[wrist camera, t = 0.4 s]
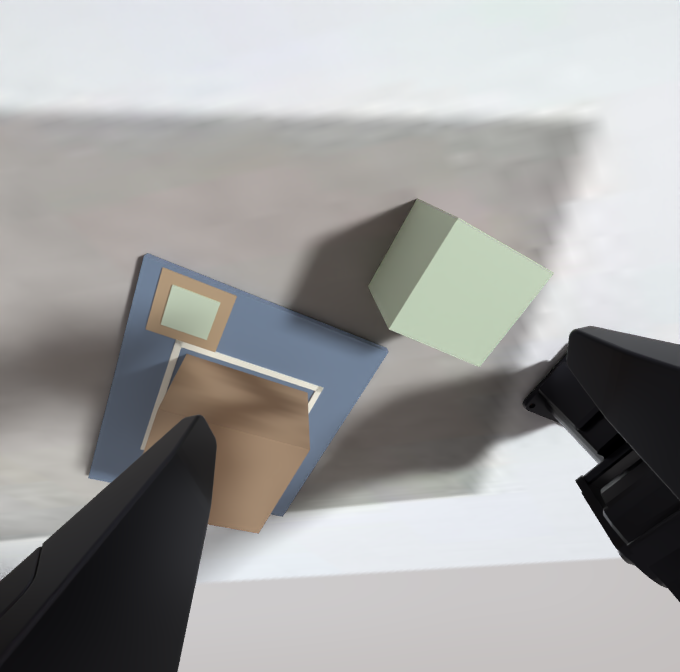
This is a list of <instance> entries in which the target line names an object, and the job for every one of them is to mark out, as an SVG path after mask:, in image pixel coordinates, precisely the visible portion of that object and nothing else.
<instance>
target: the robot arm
mask: <svg viewBox="0 0 680 672" xmlns="http://www.w3.org/2000/svg"><path fill="white" fill-rule="evenodd" d="M523 406H524V407H525V408H526V409H527V410H528V411H530V412H533V413H536V414H538V415H541V416H543V417H546V418H548V419H551V420H554V421H556V422H559V423H561V425H562V426H563V427H564V428H565V429H566V430H567V431H568V432H569V433H570V434H571V435H572V436H573V437H574V438H575V439H576V441H577V442H578V443H579V444H580V445H581V446H582V447H583V448H584V449H585V450H586V451H587V452H588V453H589V454H590V455H591V457H592V458H593V459H594V460H595V461H596V462H597V463H598V465H596V466H595V467H594V468H593V469H591V470H590V471H589V472H588V473H587V474H585V475H584V476H583V475H581V476H580V477H579V478H578V479H576V480H575V481H576V483H577V484H578V486H579V488H580V489H581V491H582V495H583V496H584V498H585V499H586V501H587V503H588V504H589V506H590V508H591V509H592V511H593V512H594V514H595V516H596V517H597V519H598V520H599V522H600V524H601V525H602V527H603V528H604V530H605V532H606V533H607V535H608V537H609V538H610V540H611V541H612V543H613V545H614V546H615V547H616V549H617V550H618V553H619V555H620V556H621V557H622V558H623V559H624V561H626V562H627V563H629V564H632V565H635V566H636V567H637V568H639V569H640V570H641V571H642V572H643V573H644V574H645V575H647V576H648V577H649V578H650V579H652V580H653V581H654V582H656V583H658V584H659V585H661V586H663V587H666V588H668V589H669V590H670V591H671V592H672V593H673V595H674V596H675V597H676V598H677V599H678V601H679V602H680V345H679V344H674V343H670V342H665V341H660V340H656V339H651V338H646V337H641V336H637V335H632V334H627V333H622V332H618V331H613V330H608V329H604V328H599V327H594V326H587V327H583V328H578V329H574V330H573V331H571V333H570V335H569V342H568V350H567V354H566V355H565V356H564V358H563V359H562V360H561V361H560V362H559V363H558V364H557V365H556V366H555V367H554V369H553V370H552V371H551V372H550V373H549V374H548V375H547V376H546V377H545V379H544V380H543V381H542V382H541V383H540V384H539V385H538V386H537V387H536V388H535V390H534V391H533V392H532V393H531V394H530V395H529V396H528V397H527V398H526V399H525V401H524V402H523ZM216 451H217V443H216V439H215V436H214V434H213V433H212V431H211V429H210V427H209V425H208V423H207V421H206V420H205V418H204V417H203V416H202V415H199V414H198V415H193V416H189V417H185V418H183V419H182V420H181V421H179V422H178V423H177V424H176V425H175V426H174V427H173V428H172V429H171V430H169V431H168V432H167V433H166V434H165V435H164V436H163V437H162V438H160V439H159V440H158V441H157V442H156V443H155V444H154V445H153V446H152V447H150V448H149V449H148V450H147V451H146V452H145V453H144V454H143V455H141V456H140V457H139V458H138V459H137V460H136V461H135V462H134V463H132V464H131V465H130V466H129V467H128V468H127V469H126V470H125V471H124V472H122V473H121V474H120V475H119V476H118V477H117V478H116V479H115V480H113V481H112V482H111V483H110V484H109V485H108V486H107V487H106V488H104V489H103V490H102V491H101V492H100V493H99V494H98V495H97V496H96V497H94V498H93V499H92V500H91V501H90V502H89V503H88V504H87V505H85V506H84V507H83V508H82V509H81V510H80V511H79V512H78V513H76V514H75V515H74V516H73V517H72V518H71V519H70V520H69V521H68V522H66V523H65V524H64V525H63V526H62V527H61V528H60V529H59V530H57V531H56V532H55V533H54V534H53V535H52V536H51V537H50V538H48V539H47V540H46V541H45V542H44V543H43V545H42V547H39V548H37V549H36V550H35V551H34V552H33V553H32V554H30V555H29V556H28V557H27V558H26V559H25V560H24V561H23V562H22V563H20V564H19V565H18V566H17V567H16V568H15V569H14V570H12V571H11V572H10V573H9V574H8V575H7V576H6V577H4V578H3V579H2V580H1V581H0V672H177V671H178V666H179V662H180V657H181V652H182V647H183V642H184V637H185V632H186V628H187V622H188V617H189V613H190V608H191V603H192V598H193V593H194V588H195V584H196V579H197V574H198V569H199V564H200V559H201V554H202V549H203V544H204V540H205V535H206V530H207V525H208V520H209V515H210V509H211V503H212V494H213V483H214V473H215V462H216Z"/></svg>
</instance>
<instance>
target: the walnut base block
mask: <svg viewBox="0 0 680 672" xmlns="http://www.w3.org/2000/svg"><path fill="white" fill-rule="evenodd" d="M198 414H199V415H202V416H203V417H204V418H205V420H206V421H207V423H208V425H209V427H210V429H211V431H212V433H213V434H214V436H215V439H216V443H217V451H216V462H215V473H214V483H213V494H212V503H211V509H210V515H209V520H208V524H209V525H214V526H220V527H226V528H231V529H237V530H242V531H248V532H254V533H259V532H260V530H261V529H262V527H263V525H264V524H265V522H266V520H267V519H268V517H269V516H270V514H271V512H272V511H273V509H274V507H275V506H276V504H277V503H278V501H279V499H280V498H281V496H282V495H283V493H284V491H285V490H286V488H287V486H288V485H289V483H290V482H291V480H292V478H293V477H294V475H295V473H296V472H297V470H298V469H299V467H300V465H301V464H302V462H303V460H304V459H305V457H306V456H307V454H308V452H309V451H310V437H309V413H308V393H307V392H304V391H301V390H298V389H295V388H291V387H288V386H285V385H282V384H279V383H276V382H273V381H270V380H267V379H264V378H261V377H257V376H254V375H251V374H248V373H245V372H242V371H239V370H236V369H233V368H230V367H226V366H223V365H220V364H217V363H214V362H211V361H208V360H205V359H202V358H199V357H195V356H192V355H189V354H186V356H185V358H184V360H183V362H182V364H181V366H180V368H179V370H178V371H177V373H176V375H175V377H174V379H173V381H172V383H171V385H170V387H169V389H168V391H167V393H166V394H165V396H164V398H163V400H162V402H161V404H160V406H159V408H158V410H157V413H156V416H155V419H154V422H153V425H152V428H151V431H150V434H149V437H148V440H147V443H146V446H145V449H144V452H143V454H144V453H145V452H146V451H147V450H148V449H149V448H150V447H152V446H153V445H154V444H155V443H156V442H157V441H158V440H159V439H160V438H162V437H163V436H164V435H165V434H166V433H167V432H168V431H169V430H171V429H172V428H173V427H174V426H175V425H176V424H177V423H178V422H179V421H181V420H182V419H183V418H185V417H189V416H193V415H198Z"/></svg>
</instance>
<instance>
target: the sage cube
mask: <svg viewBox="0 0 680 672" xmlns="http://www.w3.org/2000/svg"><path fill="white" fill-rule="evenodd" d="M553 274H554V273H553V272H551V271H550V270H548V269H546V268H544V267H543V266H541V265H539V264H537V263H536V262H534V261H532V260H531V259H529V258H527V257H525V256H524V255H522V254H520V253H518V252H517V251H515V250H513V249H511V248H510V247H508V246H506V245H504V244H503V243H501V242H499V241H498V240H496V239H494V238H492V237H491V236H489V235H487V234H485V233H484V232H482V231H480V230H478V229H477V228H475V227H473V226H471V225H470V224H468V223H466V222H465V221H463V220H461V219H459V218H457V217H455V216H453V215H451V214H449V213H447V212H445V211H443V210H441V209H438V208H436V207H434V206H432V205H430V204H428V203H426V202H424V201H422V200H419V199H417V200H416V201H415V203H414V205H413V207H412V209H411V210H410V212H409V214H408V216H407V217H406V219H405V221H404V223H403V225H402V226H401V228H400V230H399V232H398V234H397V235H396V237H395V239H394V241H393V243H392V244H391V246H390V248H389V250H388V251H387V253H386V255H385V257H384V259H383V260H382V262H381V264H380V266H379V268H378V269H377V271H376V273H375V275H374V276H373V278H372V280H371V282H370V284H369V285H368V288H369V290H370V292H371V294H372V296H373V298H374V300H375V302H376V304H377V306H378V308H379V310H380V312H381V314H382V317H383V319H384V321H385V323H386V325H387V327H388V329H389V330H392V331H394V332H396V333H399V334H401V335H404V336H406V337H408V338H411V339H413V340H416V341H418V342H421V343H423V344H425V345H428V346H430V347H433V348H435V349H437V350H440V351H442V352H445V353H447V354H449V355H452V356H454V357H457V358H459V359H461V360H464V361H466V362H469V363H471V364H473V365H476V366H478V367H480V366H481V365H482V363H483V362H484V361H485V359H486V358H487V357H488V356H489V354H490V353H491V352H492V351H493V349H494V348H495V347H496V346H497V344H498V343H499V342H500V341H501V339H502V338H503V337H504V336H505V334H506V333H507V332H508V331H509V329H510V328H511V327H512V326H513V324H514V323H515V322H516V321H517V319H518V318H519V317H520V315H521V314H522V313H523V312H524V310H525V309H526V308H527V307H528V305H529V304H530V303H531V302H532V300H533V299H534V298H535V297H536V295H537V294H538V293H539V292H540V290H541V289H542V288H543V287H544V285H545V284H546V283H547V282H548V280H549V279H550V278H551V277H552V275H553Z"/></svg>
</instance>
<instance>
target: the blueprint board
mask: <svg viewBox="0 0 680 672" xmlns="http://www.w3.org/2000/svg"><path fill="white" fill-rule="evenodd" d="M387 353H388V350H387V348H385V347H383V346H380V345H378V344H375V343H373V342H370V341H368V340H365V339H363V338H360V337H358V336H355V335H353V334H350V333H348V332H345V331H343V330H340V329H338V328H335V327H332V326H330V325H327V324H325V323H322V322H320V321H317V320H315V319H312V318H310V317H307V316H305V315H302V314H300V313H297V312H295V311H292V310H290V309H287V308H285V307H282V306H279V305H277V304H274V303H272V302H269V301H267V300H264V299H262V298H259V297H257V296H254V295H252V294H249V293H247V292H244V291H242V290H239V289H237V288H234V287H232V286H229V285H226V284H224V283H221V282H219V281H216V280H214V279H211V278H209V277H206V276H204V275H201V274H199V273H196V272H194V271H191V270H189V269H186V268H184V267H181V266H179V265H176V264H173V263H171V262H168V261H166V260H163V259H161V258H158V257H156V256H153V255H151V254H148V253H147V254H146V255H145V256H144V258H143V262H142V266H141V270H140V274H139V278H138V282H137V286H136V290H135V294H134V298H133V302H132V306H131V310H130V314H129V318H128V322H127V326H126V330H125V334H124V338H123V342H122V346H121V350H120V354H119V358H118V362H117V366H116V370H115V374H114V378H113V382H112V386H111V390H110V394H109V398H108V402H107V406H106V410H105V414H104V418H103V422H102V426H101V430H100V434H99V438H98V442H97V446H96V450H95V454H94V458H93V462H92V466H91V470H90V474H89V478H90V479H95V480H100V481H106V482H112V481H113V480H115V479H116V478H117V477H118V476H119V475H120V474H121V473H122V472H124V471H125V470H126V469H127V468H128V467H129V466H130V465H131V464H132V463H134V462H135V461H136V460H137V459H138V458H139V457H140V456H141V455H143V452H144V449H145V446H146V443H147V440H148V437H149V434H150V431H151V428H152V425H153V422H154V419H155V416H156V413H157V410H158V408H159V406H160V404H161V402H162V400H163V398H164V396H165V394H166V393H167V391H168V389H169V387H170V385H171V383H172V381H173V379H174V377H175V375H176V373H177V371H178V370H179V368H180V366H181V364H182V362H183V360H184V358H185V356H186V354H189V355H192V356H195V357H199V358H202V359H205V360H208V361H211V362H214V363H217V364H220V365H223V366H226V367H230V368H233V369H236V370H239V371H242V372H245V373H248V374H251V375H254V376H257V377H261V378H264V379H267V380H270V381H273V382H276V383H279V384H282V385H285V386H288V387H291V388H295V389H298V390H301V391H304V392H307V393H308V413H309V437H310V451H309V452H308V454H307V456H306V457H305V459H304V460H303V462H302V464H301V465H300V467H299V469H298V470H297V472H296V473H295V475H294V477H293V478H292V480H291V482H290V483H289V485H288V486H287V488H286V490H285V491H284V493H283V495H282V496H281V498H280V499H279V501H278V503H277V504H276V506H275V507H274V509H273V511H272V512H271V514H272V515H277V516H282V517H283V515H284V514H285V512H286V511H287V509H288V508H289V506H290V504H291V503H292V501H293V500H294V498H295V497H296V495H297V493H298V492H299V490H300V489H301V487H302V486H303V484H304V483H305V481H306V479H307V478H308V476H309V475H310V473H311V472H312V470H313V469H314V467H315V465H316V464H317V462H318V461H319V459H320V458H321V456H322V455H323V453H324V451H325V450H326V448H327V447H328V445H329V444H330V442H331V441H332V439H333V437H334V436H335V434H336V433H337V431H338V430H339V428H340V427H341V425H342V423H343V422H344V420H345V419H346V417H347V416H348V414H349V413H350V411H351V409H352V408H353V406H354V405H355V403H356V402H357V400H358V399H359V397H360V395H361V394H362V392H363V391H364V389H365V388H366V386H367V385H368V383H369V381H370V380H371V378H372V377H373V375H374V374H375V372H376V371H377V369H378V367H379V366H380V364H381V363H382V361H383V360H384V358H385V357H386V355H387Z"/></svg>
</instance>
